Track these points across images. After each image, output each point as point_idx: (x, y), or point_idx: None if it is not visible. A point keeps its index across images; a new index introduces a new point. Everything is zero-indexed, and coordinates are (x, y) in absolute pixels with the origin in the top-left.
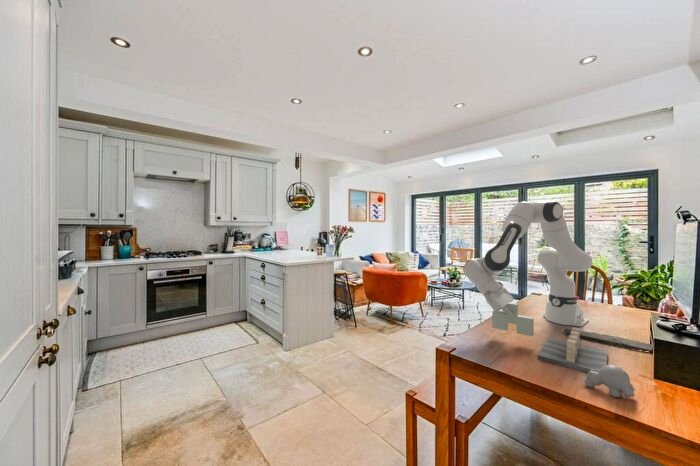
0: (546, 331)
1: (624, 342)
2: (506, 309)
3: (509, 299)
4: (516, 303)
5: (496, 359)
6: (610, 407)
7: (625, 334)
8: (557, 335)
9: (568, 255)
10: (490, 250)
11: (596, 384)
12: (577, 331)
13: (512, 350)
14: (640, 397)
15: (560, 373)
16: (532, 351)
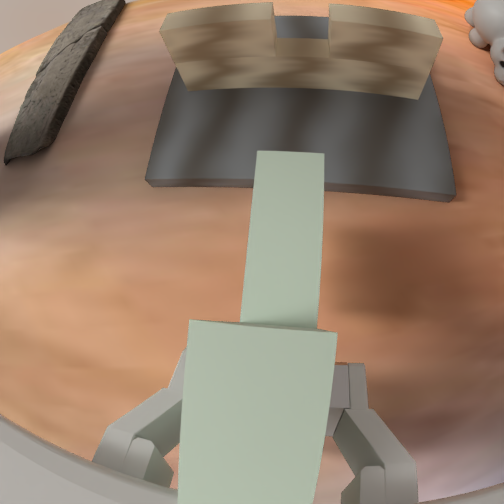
0: (32, 216)
1: (93, 24)
2: (405, 467)
3: (42, 486)
4: (190, 360)
5: None
6: None
7: (15, 63)
8: (60, 172)
9: None
10: None
11: None
12: (228, 7)
13: (427, 321)
14: (452, 16)
15: (496, 133)
16: (369, 231)
